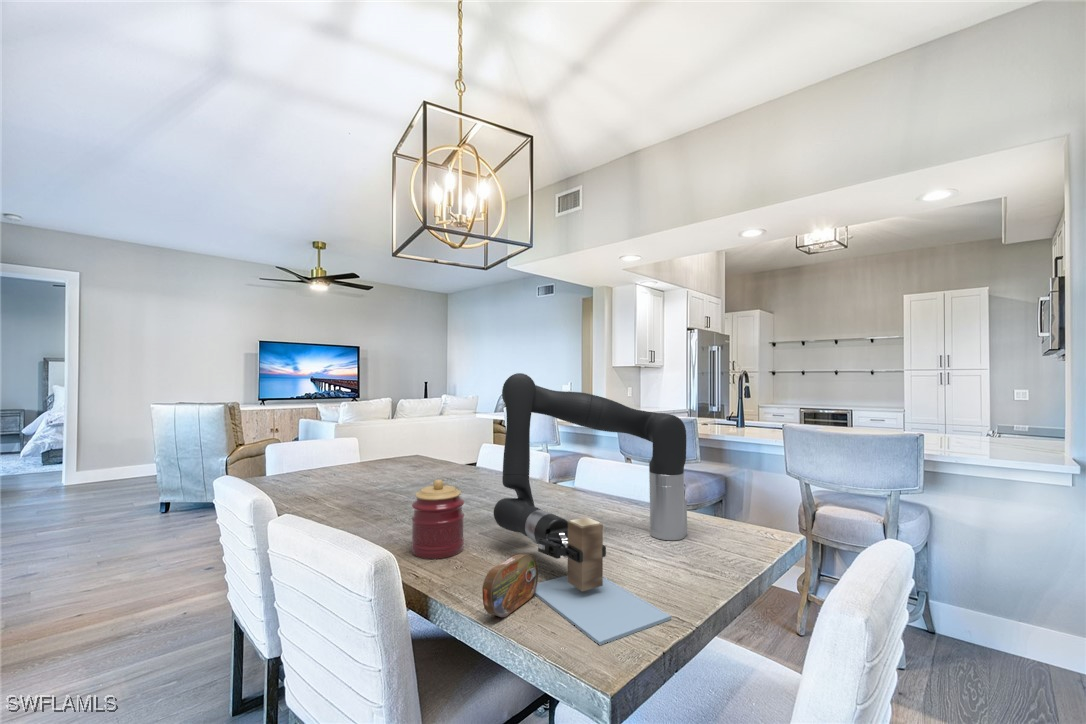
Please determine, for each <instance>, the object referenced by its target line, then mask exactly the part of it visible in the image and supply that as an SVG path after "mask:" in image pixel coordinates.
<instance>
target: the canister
mask: <svg viewBox="0 0 1086 724" xmlns="http://www.w3.org/2000/svg"><path fill="white" fill-rule="evenodd" d="M444 484H445V483H444V481H443V480H442V479H435V480H434V481H433V483H432V485H428V486H424V487H423V488H421V489H420V490H419V491H418V492H416V493H415V495H414V496H415V498H416V500H415V501H412V503H411V507H412V509H413V515H412V516H411V521H412V522H411V532H412V533H411V535H412V536H411V544H410V545H411V550H412V554H413V555H414V556H416V557H418V558H422V559H426V560H427V559H429V560H431V559H432V560H433V559H434V560H435V559H443V558H448V557H452V556H455V555H457V554H460V552H462V551H463V550H464V545H465V537H464V517H465V513H464V512H463V506H464V504H465V500H464V499H463V498H461V494H462V491H461V490H459V489H457V488H456V487H455V486H453V485H447V484H446V485H444Z"/></svg>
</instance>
